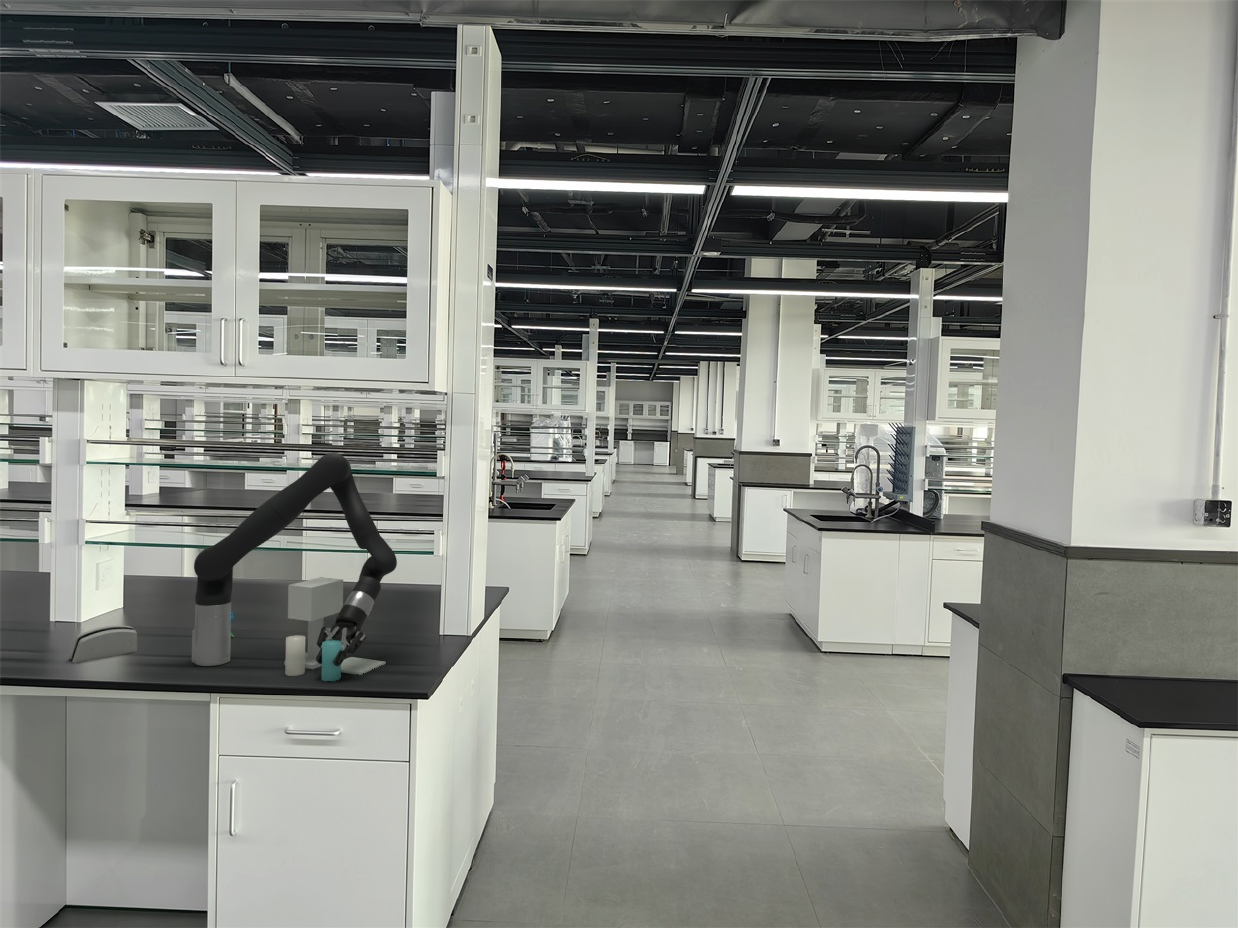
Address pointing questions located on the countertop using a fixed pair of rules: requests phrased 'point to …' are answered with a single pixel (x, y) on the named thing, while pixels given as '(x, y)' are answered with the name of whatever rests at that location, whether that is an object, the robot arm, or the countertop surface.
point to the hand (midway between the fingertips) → (327, 663)
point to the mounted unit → (314, 609)
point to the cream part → (295, 655)
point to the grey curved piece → (104, 643)
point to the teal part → (330, 660)
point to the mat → (359, 665)
